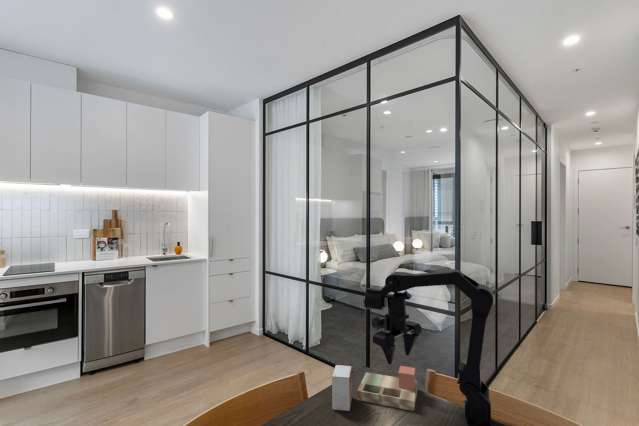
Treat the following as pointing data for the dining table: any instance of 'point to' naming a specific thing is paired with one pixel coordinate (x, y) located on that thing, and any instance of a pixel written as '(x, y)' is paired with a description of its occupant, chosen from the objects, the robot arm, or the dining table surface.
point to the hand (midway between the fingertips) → (398, 359)
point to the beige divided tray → (386, 392)
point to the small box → (342, 388)
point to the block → (406, 377)
